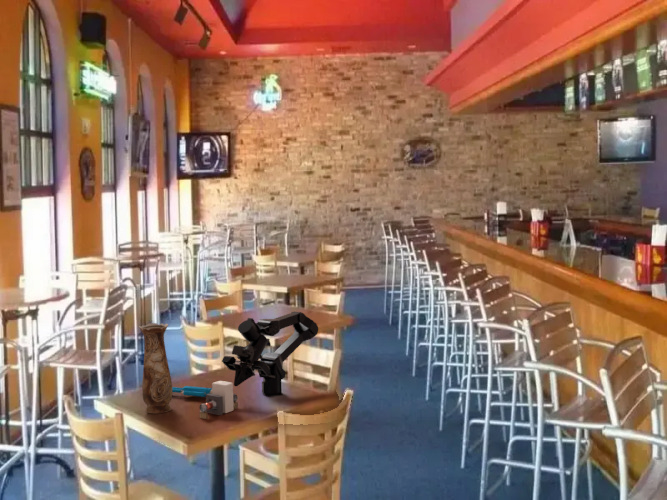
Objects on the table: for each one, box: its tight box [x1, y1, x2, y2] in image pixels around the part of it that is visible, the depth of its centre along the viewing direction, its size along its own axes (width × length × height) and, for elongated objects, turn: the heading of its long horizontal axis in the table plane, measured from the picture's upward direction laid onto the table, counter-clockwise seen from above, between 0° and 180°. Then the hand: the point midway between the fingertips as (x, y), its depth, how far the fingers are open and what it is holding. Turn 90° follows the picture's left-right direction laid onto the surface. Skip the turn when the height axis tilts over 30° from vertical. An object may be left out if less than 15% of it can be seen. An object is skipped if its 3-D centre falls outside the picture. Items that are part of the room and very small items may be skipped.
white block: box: [211, 380, 234, 414], centre depth 279 cm, size 4×6×10 cm, turn 55°
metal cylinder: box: [198, 393, 239, 420], centre depth 277 cm, size 16×3×5 cm, turn 145°
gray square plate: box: [205, 394, 224, 416], centre depth 276 cm, size 2×6×6 cm, turn 55°
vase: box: [138, 322, 173, 414], centre depth 280 cm, size 10×11×30 cm
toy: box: [172, 385, 212, 398], centre depth 298 cm, size 8×6×30 cm
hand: (235, 385), depth 284 cm, fingers closed
